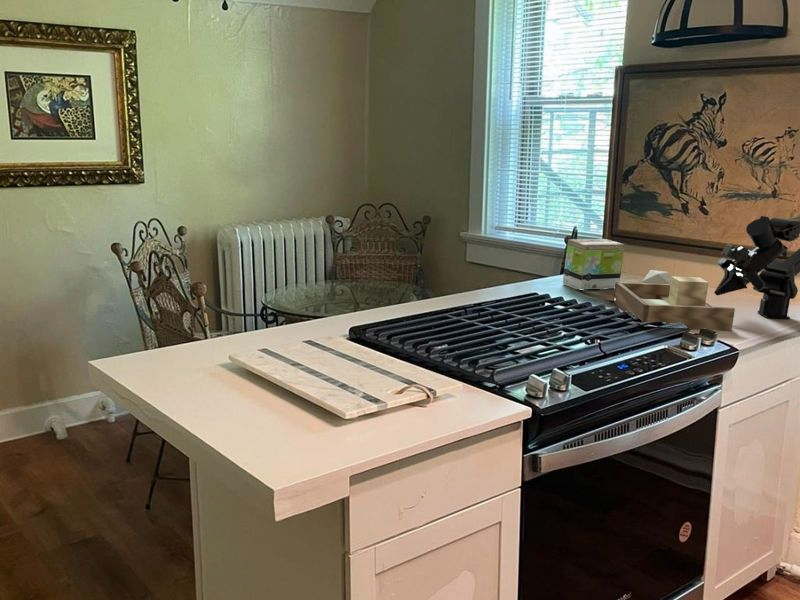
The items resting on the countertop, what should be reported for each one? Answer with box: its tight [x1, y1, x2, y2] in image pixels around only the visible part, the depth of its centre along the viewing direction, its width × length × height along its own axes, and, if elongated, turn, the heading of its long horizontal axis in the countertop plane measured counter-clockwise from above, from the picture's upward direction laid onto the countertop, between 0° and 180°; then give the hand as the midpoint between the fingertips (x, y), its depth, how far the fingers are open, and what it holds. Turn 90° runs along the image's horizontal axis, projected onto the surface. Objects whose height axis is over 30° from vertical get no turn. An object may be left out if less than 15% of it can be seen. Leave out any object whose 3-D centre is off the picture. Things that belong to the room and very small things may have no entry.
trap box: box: [612, 281, 736, 332], centre depth 216 cm, size 24×26×6 cm
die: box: [641, 269, 671, 284], centre depth 236 cm, size 8×9×10 cm
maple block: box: [668, 275, 709, 306], centre depth 215 cm, size 8×6×8 cm
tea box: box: [562, 238, 626, 290], centre depth 246 cm, size 15×10×15 cm
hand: (715, 294), depth 216 cm, fingers closed
